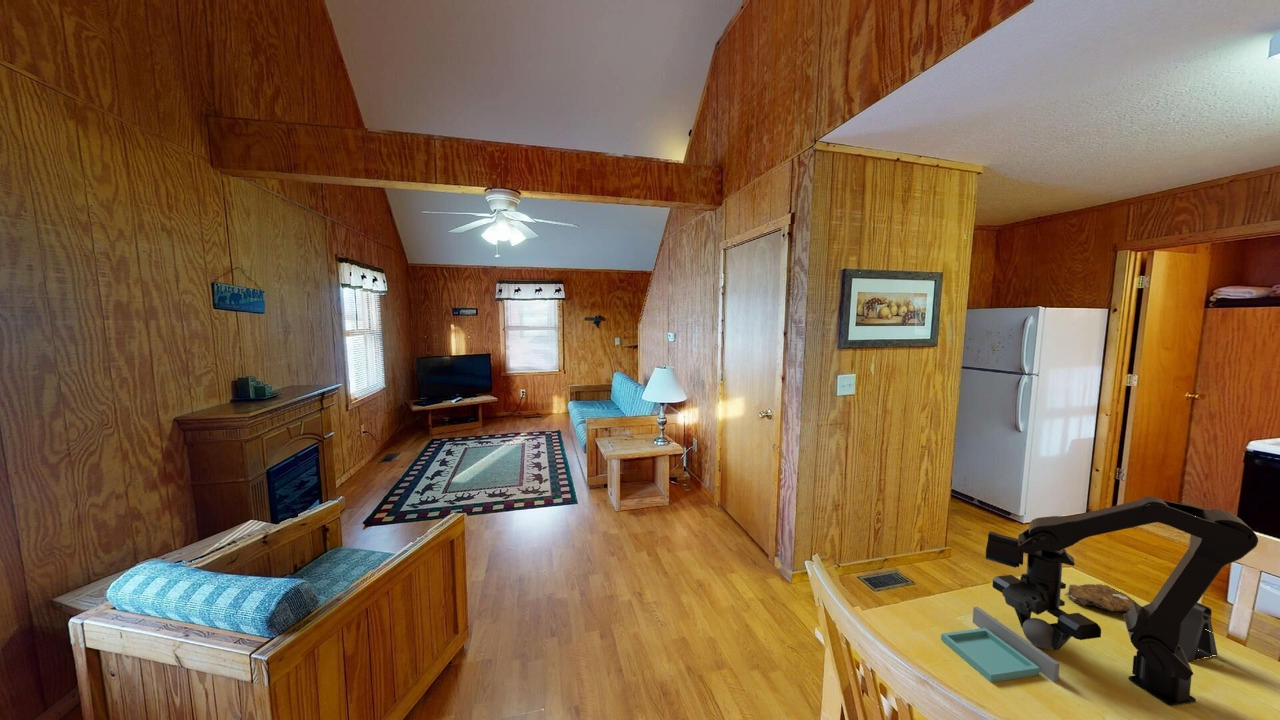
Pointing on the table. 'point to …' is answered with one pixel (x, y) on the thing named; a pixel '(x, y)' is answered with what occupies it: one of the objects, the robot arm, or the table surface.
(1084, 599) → the decorative rock
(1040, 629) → the ball
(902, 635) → the table surface
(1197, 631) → the phone stand
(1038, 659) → the low wall
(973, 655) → the dish
